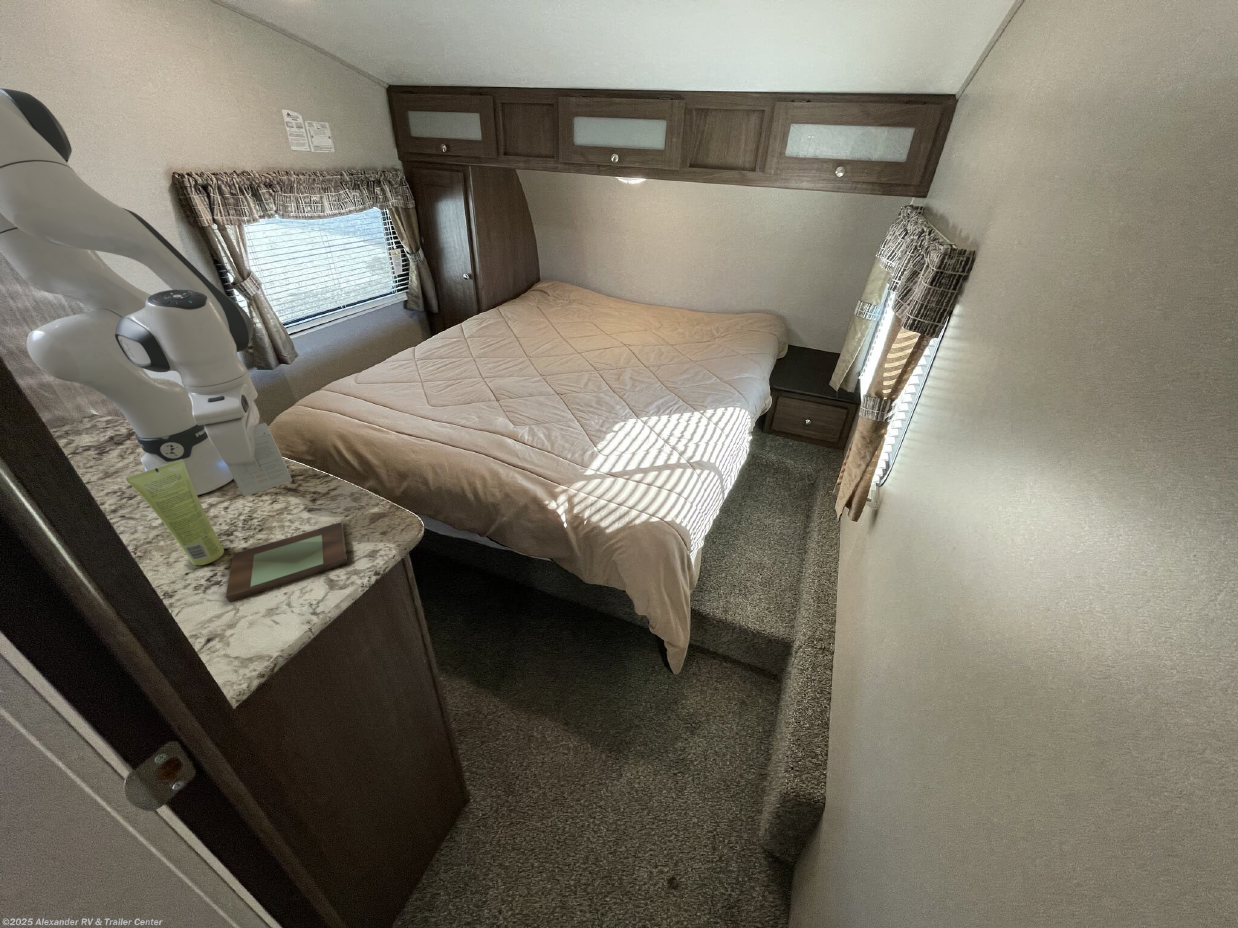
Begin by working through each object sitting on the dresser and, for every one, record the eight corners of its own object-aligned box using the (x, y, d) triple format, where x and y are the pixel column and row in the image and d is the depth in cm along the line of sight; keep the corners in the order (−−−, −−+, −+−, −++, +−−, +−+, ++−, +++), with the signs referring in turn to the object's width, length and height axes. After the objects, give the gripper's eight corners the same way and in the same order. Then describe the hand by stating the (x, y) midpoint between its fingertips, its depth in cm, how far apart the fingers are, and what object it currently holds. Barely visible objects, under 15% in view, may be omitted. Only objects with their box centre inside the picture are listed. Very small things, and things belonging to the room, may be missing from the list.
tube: (206, 546, 93) (152, 459, 82) (233, 545, 93) (182, 458, 83) (185, 567, 88) (124, 477, 78) (213, 566, 88) (156, 476, 78)
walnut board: (235, 558, 90) (232, 553, 89) (343, 526, 97) (341, 521, 96) (228, 602, 81) (225, 596, 80) (347, 563, 88) (345, 558, 87)
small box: (287, 469, 96) (266, 421, 90) (293, 481, 92) (271, 433, 87) (239, 483, 92) (214, 434, 86) (242, 497, 88) (216, 447, 82)
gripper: (208, 375, 88) (240, 441, 96) (190, 421, 73) (230, 495, 81) (249, 368, 91) (278, 433, 98) (240, 411, 76) (274, 484, 83)
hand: (256, 461), depth 89 cm, fingers closed on small box, 6 cm apart
